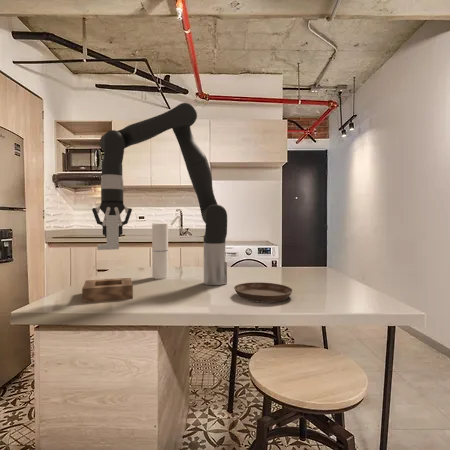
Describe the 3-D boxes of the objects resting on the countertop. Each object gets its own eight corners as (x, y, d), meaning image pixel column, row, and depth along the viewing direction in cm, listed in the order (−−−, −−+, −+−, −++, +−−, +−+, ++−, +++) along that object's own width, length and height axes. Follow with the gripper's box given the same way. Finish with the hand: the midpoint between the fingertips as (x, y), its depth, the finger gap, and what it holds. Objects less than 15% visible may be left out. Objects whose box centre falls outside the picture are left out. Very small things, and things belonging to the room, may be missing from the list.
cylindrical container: (149, 278, 144) (148, 223, 143) (158, 275, 151) (157, 223, 150) (162, 279, 141) (162, 223, 141) (171, 276, 148) (170, 223, 147)
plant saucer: (280, 289, 124) (280, 280, 124) (302, 303, 104) (302, 293, 104) (229, 291, 121) (229, 282, 121) (241, 306, 101) (241, 296, 100)
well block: (130, 289, 123) (130, 277, 122) (132, 298, 109) (132, 285, 109) (85, 292, 117) (85, 280, 117) (82, 302, 104) (82, 288, 104)
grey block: (118, 247, 117) (118, 215, 117) (118, 249, 111) (118, 215, 111) (98, 248, 115) (97, 215, 114) (97, 249, 109) (97, 215, 109)
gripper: (132, 189, 119) (132, 235, 119) (91, 188, 114) (91, 236, 114) (133, 188, 112) (133, 236, 112) (89, 187, 107) (90, 237, 107)
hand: (112, 236), depth 113 cm, fingers closed on grey block, 4 cm apart
